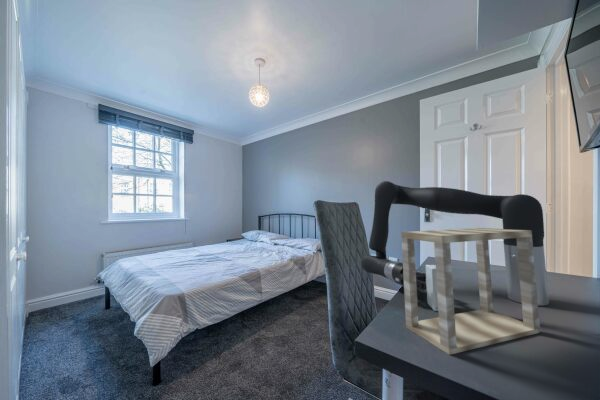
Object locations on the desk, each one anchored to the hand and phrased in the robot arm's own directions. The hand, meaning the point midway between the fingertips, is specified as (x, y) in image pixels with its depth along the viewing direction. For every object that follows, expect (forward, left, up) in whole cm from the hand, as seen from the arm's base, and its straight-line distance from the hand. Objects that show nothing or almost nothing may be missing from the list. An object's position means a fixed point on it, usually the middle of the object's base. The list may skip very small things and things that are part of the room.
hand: (436, 285), depth 70 cm
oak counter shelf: (+4, +13, -7) cm, 15 cm away
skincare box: (0, 0, -7) cm, 7 cm away
